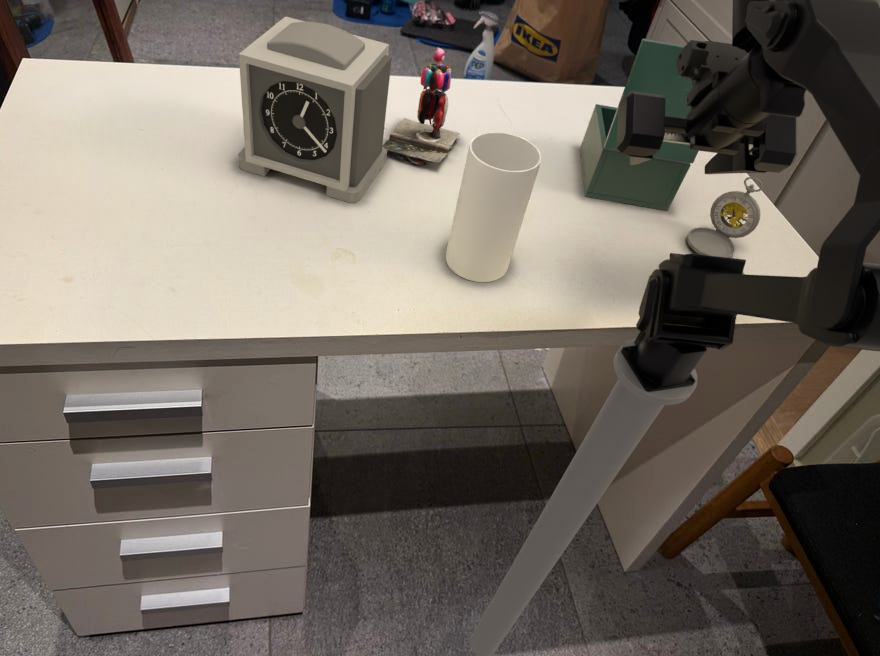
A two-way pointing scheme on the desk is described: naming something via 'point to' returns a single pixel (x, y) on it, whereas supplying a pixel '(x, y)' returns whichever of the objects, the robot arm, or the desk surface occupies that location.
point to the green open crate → (625, 169)
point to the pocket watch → (718, 239)
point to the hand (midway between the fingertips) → (668, 165)
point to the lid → (659, 92)
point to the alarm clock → (315, 106)
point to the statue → (433, 105)
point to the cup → (491, 205)
